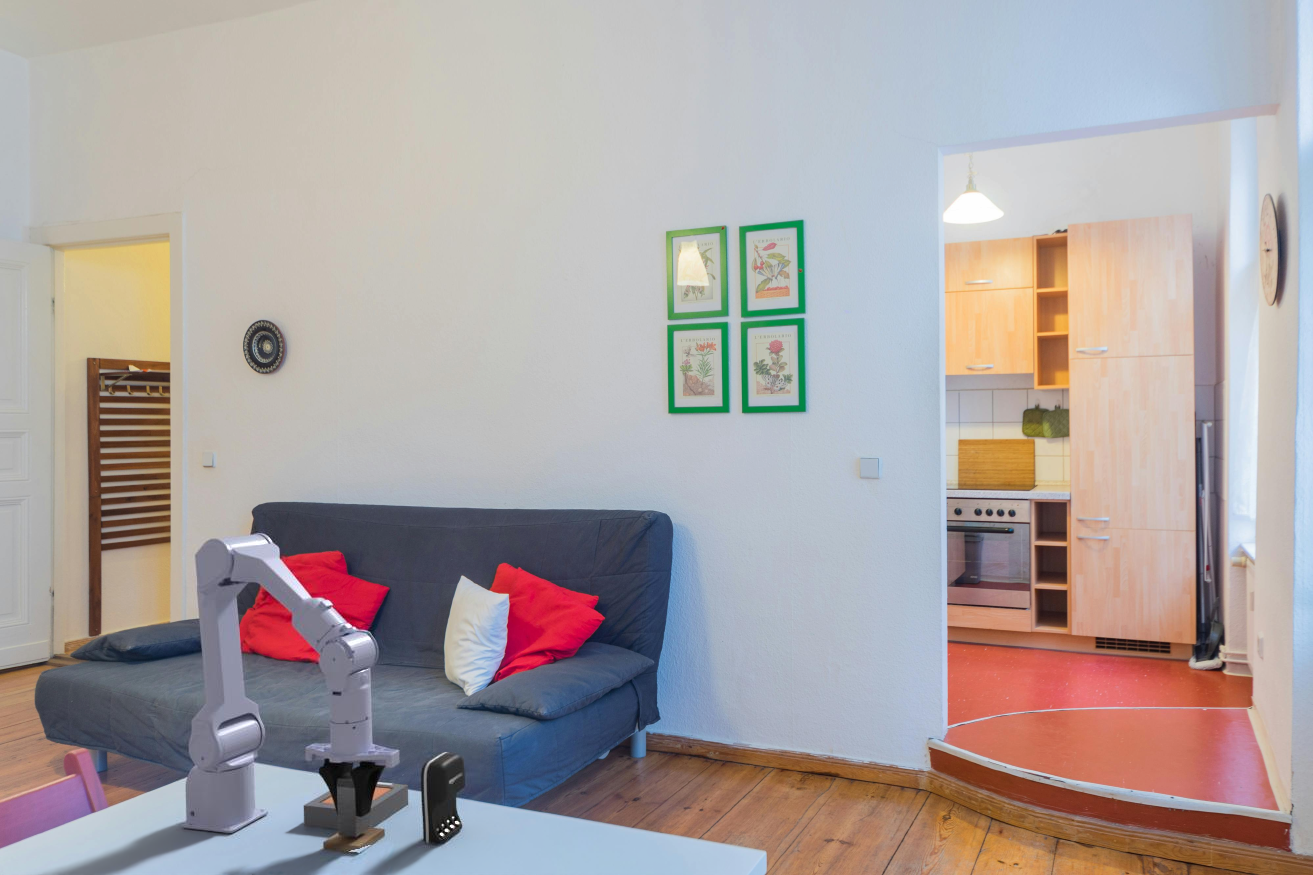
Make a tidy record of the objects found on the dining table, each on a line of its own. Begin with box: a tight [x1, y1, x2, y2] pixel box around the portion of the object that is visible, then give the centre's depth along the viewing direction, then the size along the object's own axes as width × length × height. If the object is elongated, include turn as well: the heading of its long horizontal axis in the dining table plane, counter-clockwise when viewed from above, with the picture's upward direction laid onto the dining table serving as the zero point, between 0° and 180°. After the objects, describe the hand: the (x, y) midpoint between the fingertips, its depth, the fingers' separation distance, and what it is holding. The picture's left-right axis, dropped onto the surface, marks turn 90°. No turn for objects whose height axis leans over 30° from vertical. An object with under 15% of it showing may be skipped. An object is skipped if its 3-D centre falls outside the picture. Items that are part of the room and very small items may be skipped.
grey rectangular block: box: [336, 772, 369, 837], centre depth 131 cm, size 3×3×8 cm
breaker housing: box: [303, 781, 409, 830], centre depth 142 cm, size 11×11×3 cm
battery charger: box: [420, 751, 466, 845], centre depth 132 cm, size 7×4×11 cm, turn 161°
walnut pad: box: [322, 827, 386, 853], centre depth 131 cm, size 6×6×1 cm
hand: (353, 812), depth 131 cm, fingers closed on grey rectangular block, 3 cm apart
